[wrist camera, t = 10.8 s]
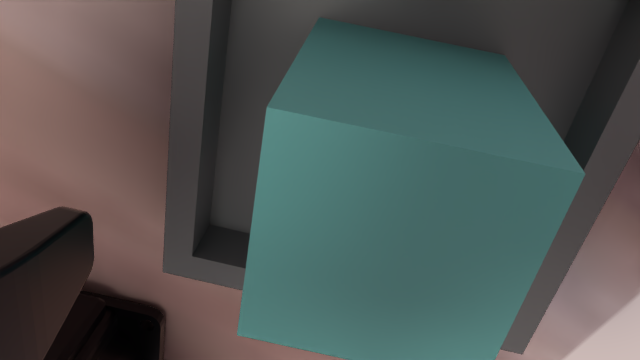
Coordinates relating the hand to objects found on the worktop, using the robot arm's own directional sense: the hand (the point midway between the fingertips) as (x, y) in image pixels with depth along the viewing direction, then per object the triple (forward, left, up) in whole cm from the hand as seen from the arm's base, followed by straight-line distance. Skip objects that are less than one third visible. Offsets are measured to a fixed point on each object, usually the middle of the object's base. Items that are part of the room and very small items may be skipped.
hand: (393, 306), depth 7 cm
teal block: (0, 0, -7) cm, 7 cm away
